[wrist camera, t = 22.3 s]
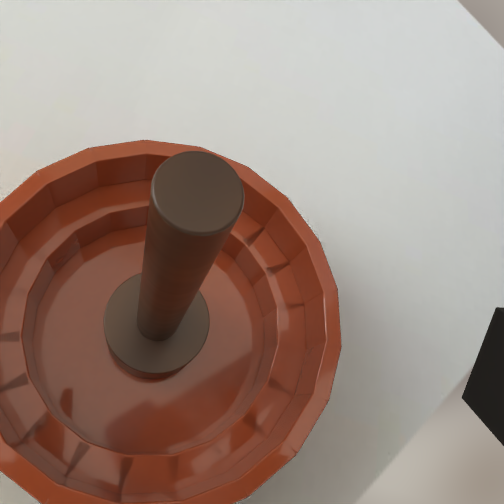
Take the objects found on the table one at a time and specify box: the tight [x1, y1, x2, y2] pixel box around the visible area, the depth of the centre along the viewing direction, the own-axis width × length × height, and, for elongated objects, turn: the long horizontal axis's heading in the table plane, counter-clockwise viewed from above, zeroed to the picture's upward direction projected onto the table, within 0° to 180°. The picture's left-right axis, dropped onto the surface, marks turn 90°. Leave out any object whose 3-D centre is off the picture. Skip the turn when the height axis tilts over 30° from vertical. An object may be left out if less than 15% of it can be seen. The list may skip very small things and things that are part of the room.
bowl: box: [0, 140, 341, 504], centre depth 23 cm, size 17×17×6 cm
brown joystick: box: [103, 151, 244, 379], centre depth 18 cm, size 5×5×17 cm
